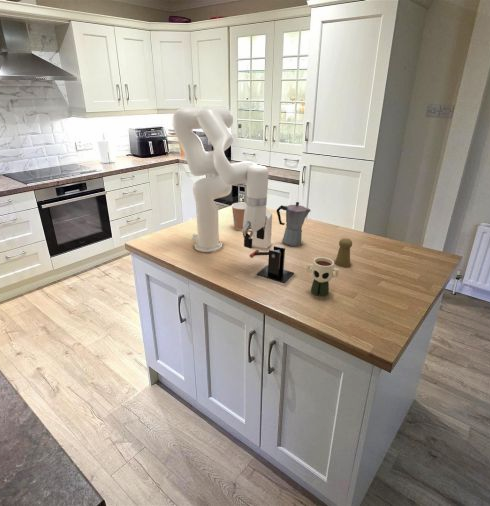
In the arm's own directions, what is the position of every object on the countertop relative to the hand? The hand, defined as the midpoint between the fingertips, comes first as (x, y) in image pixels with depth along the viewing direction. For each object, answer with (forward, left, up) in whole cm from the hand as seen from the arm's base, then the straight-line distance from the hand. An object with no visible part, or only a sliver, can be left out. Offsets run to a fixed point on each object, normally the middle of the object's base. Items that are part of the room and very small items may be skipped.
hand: (254, 242), depth 135 cm
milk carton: (-8, +22, -12) cm, 26 cm away
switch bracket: (+10, 0, -12) cm, 16 cm away
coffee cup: (-28, +37, -12) cm, 48 cm away
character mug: (+29, -3, -12) cm, 32 cm away
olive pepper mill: (+29, +25, -12) cm, 40 cm away
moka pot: (+2, +33, -12) cm, 35 cm away
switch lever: (+6, 0, -4) cm, 7 cm away
